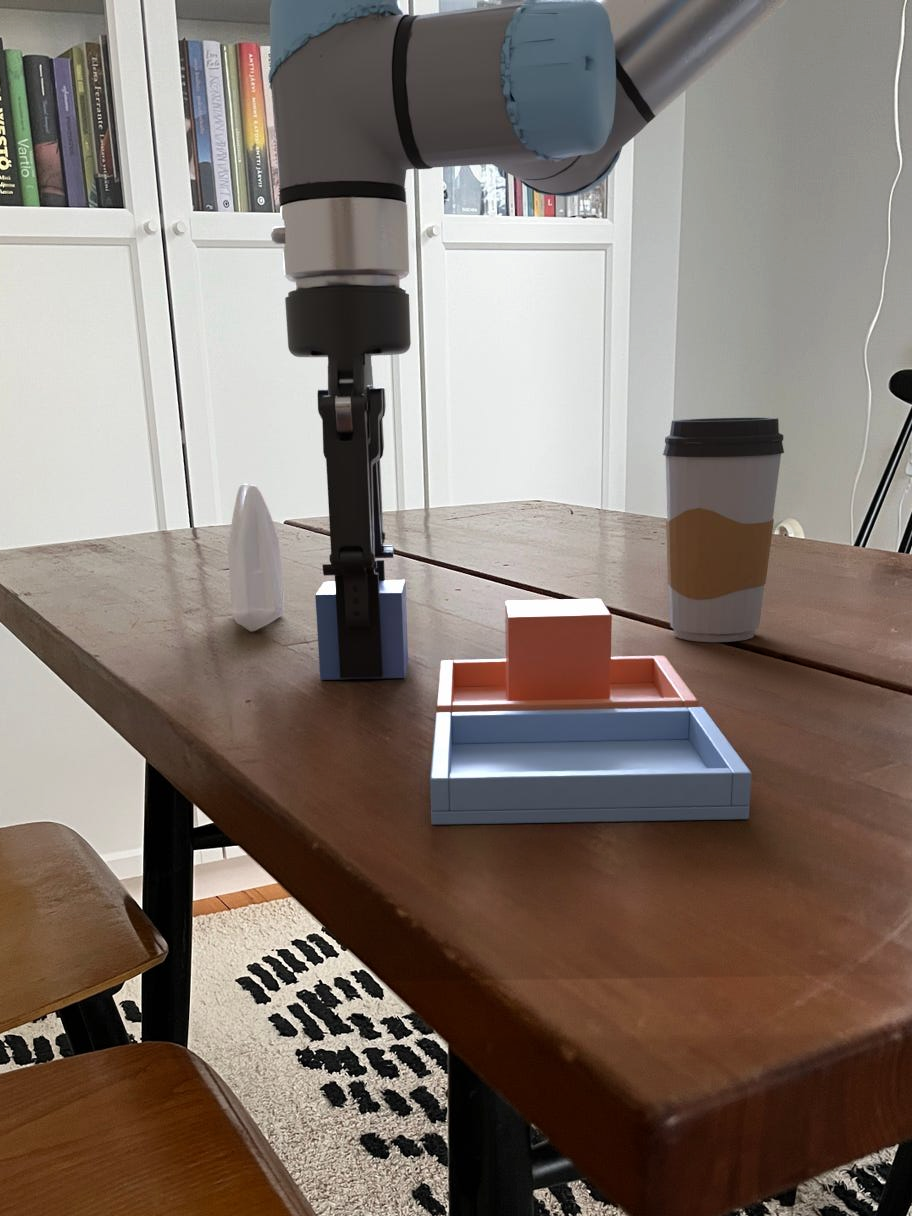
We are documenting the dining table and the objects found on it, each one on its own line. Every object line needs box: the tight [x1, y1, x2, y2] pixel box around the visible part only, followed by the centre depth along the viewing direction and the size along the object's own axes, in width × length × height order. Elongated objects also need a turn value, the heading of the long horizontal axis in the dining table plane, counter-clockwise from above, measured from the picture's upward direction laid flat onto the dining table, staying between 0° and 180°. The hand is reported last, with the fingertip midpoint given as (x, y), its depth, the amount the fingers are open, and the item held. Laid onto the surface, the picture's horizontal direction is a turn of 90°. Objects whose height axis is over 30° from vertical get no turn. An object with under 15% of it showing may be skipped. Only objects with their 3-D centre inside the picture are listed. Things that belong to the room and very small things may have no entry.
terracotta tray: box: [436, 655, 699, 714], centre depth 71 cm, size 14×12×2 cm
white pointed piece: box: [227, 483, 286, 632], centre depth 100 cm, size 12×4×11 cm, turn 7°
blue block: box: [314, 579, 409, 681], centre depth 83 cm, size 6×6×6 cm
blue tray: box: [429, 706, 753, 826], centre depth 59 cm, size 14×12×2 cm
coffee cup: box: [662, 417, 785, 643], centre depth 90 cm, size 8×8×15 cm
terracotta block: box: [504, 598, 613, 701], centre depth 71 cm, size 6×6×6 cm
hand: (365, 665), depth 84 cm, fingers closed on blue block, 5 cm apart
